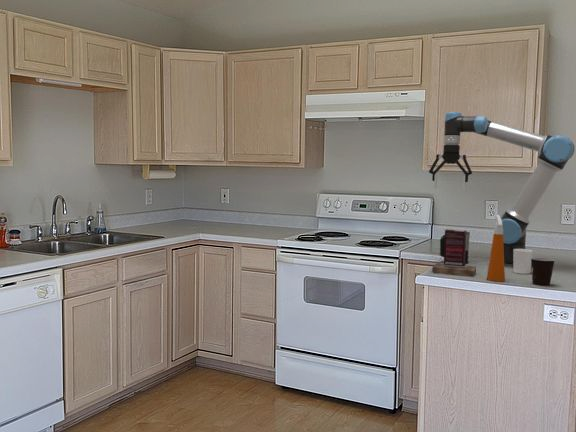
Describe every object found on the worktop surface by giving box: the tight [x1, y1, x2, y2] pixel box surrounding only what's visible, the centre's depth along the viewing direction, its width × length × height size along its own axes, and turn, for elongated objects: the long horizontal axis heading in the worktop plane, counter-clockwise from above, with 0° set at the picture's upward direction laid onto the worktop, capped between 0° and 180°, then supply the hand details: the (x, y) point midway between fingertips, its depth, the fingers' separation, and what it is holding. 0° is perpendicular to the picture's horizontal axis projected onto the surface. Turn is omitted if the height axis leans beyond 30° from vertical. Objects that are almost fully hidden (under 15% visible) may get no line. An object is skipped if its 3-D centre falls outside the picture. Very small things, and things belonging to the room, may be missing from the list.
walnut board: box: [431, 262, 477, 278], centre depth 259 cm, size 17×12×2 cm
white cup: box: [512, 248, 534, 275], centre depth 263 cm, size 8×8×10 cm
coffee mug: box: [531, 256, 555, 287], centre depth 239 cm, size 12×9×10 cm
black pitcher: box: [439, 231, 471, 265], centre depth 282 cm, size 14×16×15 cm
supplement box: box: [443, 229, 468, 268], centre depth 258 cm, size 9×5×16 cm, turn 64°
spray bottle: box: [486, 214, 506, 282], centre depth 245 cm, size 7×11×26 cm, turn 171°
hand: (449, 188), depth 292 cm, fingers open, 13 cm apart
